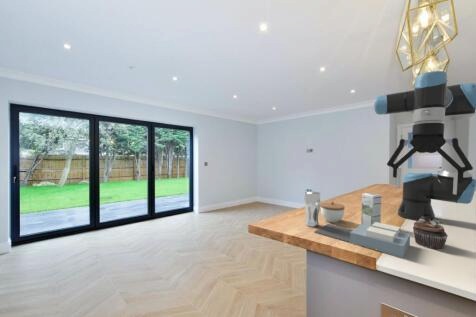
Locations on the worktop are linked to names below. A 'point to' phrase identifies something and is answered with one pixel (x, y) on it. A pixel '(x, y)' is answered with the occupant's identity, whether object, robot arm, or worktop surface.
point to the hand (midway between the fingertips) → (424, 190)
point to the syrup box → (371, 209)
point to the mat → (335, 232)
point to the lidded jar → (332, 212)
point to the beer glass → (312, 208)
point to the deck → (381, 242)
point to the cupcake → (429, 233)
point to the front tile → (381, 234)
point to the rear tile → (387, 227)
